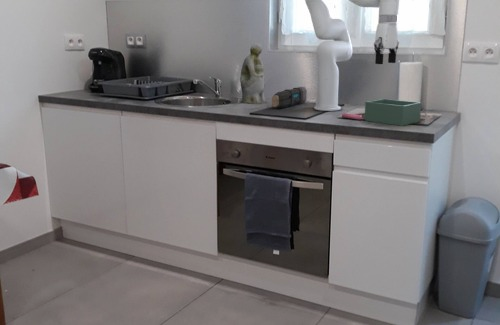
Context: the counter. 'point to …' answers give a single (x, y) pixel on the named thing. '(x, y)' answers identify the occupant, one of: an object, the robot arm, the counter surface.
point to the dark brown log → (289, 97)
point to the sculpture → (253, 77)
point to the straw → (352, 116)
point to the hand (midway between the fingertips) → (385, 63)
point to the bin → (392, 111)
